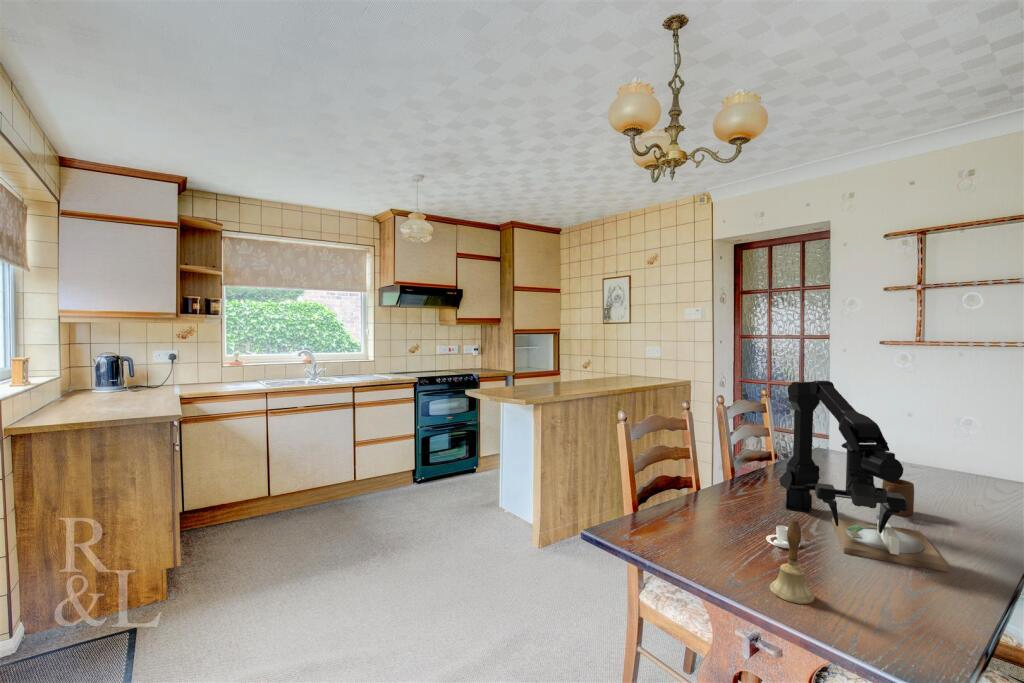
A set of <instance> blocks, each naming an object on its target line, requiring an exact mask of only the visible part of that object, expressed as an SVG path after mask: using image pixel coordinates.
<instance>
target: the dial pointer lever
mask: <svg viewBox="0 0 1024 683" xmlns="http://www.w3.org/2000/svg"><path fill="white" fill-rule="evenodd" d="M875 516H876V519H877V523H878V522H879V515H875ZM877 537H878V538H880V539H882V540H883V542H884V544H885V545H886V547H887V549H888V550H889V552H890V553H891V554H897V555H899V538H898V537H897V535H896V534H895V532H894V531H893V529H892V528H891V522H890V521H889V520H888V521H887V523H886V525H885V527H884V529H883V531H882V533H879V531H878V526H877Z"/></svg>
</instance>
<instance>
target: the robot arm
mask: <svg viewBox="0 0 1024 683" xmlns="http://www.w3.org/2000/svg"><path fill="white" fill-rule="evenodd" d="M787 394H788V401H789V403H790V405H791V406H792V408H793V410H794V411H793V412H794V414H793V415H794V416H793V417H794V419H793V446H792V448H793V452H792V456H791V457H790V459H788V462H787V464H786V469H785V472H784V473H782V475H781V476H780V478H779V483H780V484H779V485H780V486H781V487H782V488H784V489H785V500H784V506H785V509H786V510H793V511H800V512H805V513H810V512H811V509H812V507H813V495H812V493H811V491H814V493H815V496H816V498H817V499H819V500H822V502H823V503H825V504H827V505H828V507H829V509H830V511H831V514H832V517H833V518H834V521H835V524H836V526H838V518H839V516H838V513H839V512H838V503H837V502H838V501H837V500H836V498H842V499H843V498H844V499H848V500H849V499H851V503H852V504H853V506H855V507H865V508H869V509H876V508H877V505H878V504H880V506H879V515H878V516H879V522H878V521H877V524H878V531H879V533H882V531H883V529H884V527H885V525H886V523H887V521H888V522H889V520H890V518H891V517H892V516H893V515H894V514H895V513H900V511H908V503H907V501H906V499H905V498H904V497H903V496H902V495H901V494H900V493H892V492H887V491H886V489H885V488H882V487H876V485H875V480H874V477H876V478H878V479H880V480H881V481H883V480H885V481H887V482H895V481H897V480H899V479H901V478H902V476H903V474H904V467H903V465H902V463H901V461H900V460H898V459H897V458H896V454H895V453H894V452H892V451H891V452H890V448H889V446H888V442H887V440H886V438H885V437H884V435H883V433H882V430H881V427H880V426H879V425H878V423H876V422H875V421H874V420H873V419H871V418H870V417H869V416H867V415H865V414H863V413H860V412H858V411H857V410H856V409H855V408H854V407H853V406H852V405H851V404H850V403H849V402H848V401H847V400H846V398H845V397H844V396H843V395H842V394H841V392H839V391H838V389H836V388H835V385H834V383H833V382H832V381H830V380H813V381H792V382H791V383H790V384H789V385H788V387H787ZM820 402H821V403H822V404H823V405H824V406H825V407H826V409H827V410H828V411H829V412H830V413H831V415H832V416H833V417H834V418H835V419H836V421H837V423H838V430H839V432H840V434H841V436H842V437H843V439H844V440H845V442H844V443H841V447H842V448H844V449H846V463H845V464H846V465H845V466H846V469H845V490H844V489H839V488H838V489H837V488H835V486H834V484H829V483H821V482H819V481H820V466H819V465H817V464H816V463H815V461H814V460H813V439H814V438H813V436H814V434H813V433H814V432H813V431H814V429H813V428H814V411H815V410H816V409H817V408H818V406H819V405H820Z"/></svg>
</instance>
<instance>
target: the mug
mask: <svg viewBox="0 0 1024 683" xmlns="http://www.w3.org/2000/svg"><path fill="white" fill-rule="evenodd" d="M881 488H885V489H886V491H887V492H892V493H900V494H901V495H902V496H903V497H904V498H905V499H906V501H907V503H908V511H900V513H895V514H893V515H895V516H901V517H911V516H913V515H914V511H915V510H914V507H915V485H914V483H913V482H911V481H908V480H905V479H901V478H900V479H899V480H897V481H895V482H887V481H885V480H882V487H881Z"/></svg>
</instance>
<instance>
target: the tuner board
mask: <svg viewBox="0 0 1024 683" xmlns="http://www.w3.org/2000/svg"><path fill="white" fill-rule="evenodd" d="M831 525H832V527H833V530H834V532H835V534H836V537H837V539H838V542H839V544H840V547H841V549H842V552H843V554H846V555H853V556H856V557H857V556H858V557H864V558H868V559H869V558H870V559H873V560H878V561H879V560H880V561H885V562H891V563H897V564H901V565H906V566H913V567H919V568H924V569H929V570H934V571H941V572H946V573H948V571H949V566H948V564H947V563H946V562H945V560H944V559H943V557H942V556H941V555H940V554H939V553H938V552H937V550H936V549H935V547H933V545H932V544H931V543H930V542H929V540H928V539H927V538H926V536H925V535H924V534H923V533H922V532H921V530H916V529H910V528H903V527H897V526H891V525H890V526H891V528H892V529H893V531H894V532H895V534H896V535H897V537H898V538H899V555H897V554H891V553H890V552H889V550H888V549H887V547H886V545H885V544H884V542H883V540H882V539H880V538H878V537H877V526H878V523H872V522H864V521H859V520H854V519H853V520H851V519H847V518H846V519H845V518H839V517H838V526H836V524H835V521H834V518H833V516H832V517H831Z"/></svg>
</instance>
